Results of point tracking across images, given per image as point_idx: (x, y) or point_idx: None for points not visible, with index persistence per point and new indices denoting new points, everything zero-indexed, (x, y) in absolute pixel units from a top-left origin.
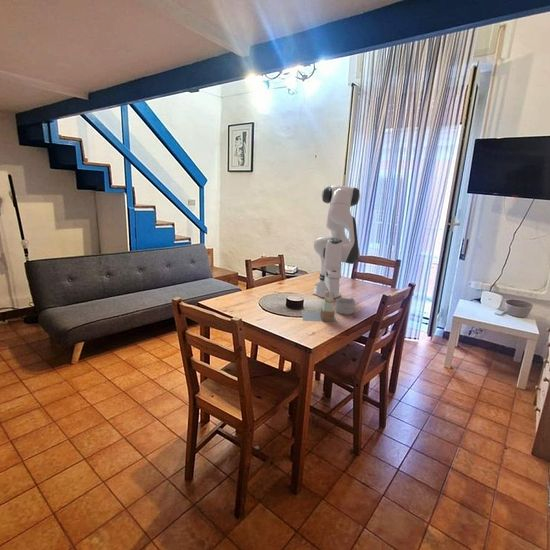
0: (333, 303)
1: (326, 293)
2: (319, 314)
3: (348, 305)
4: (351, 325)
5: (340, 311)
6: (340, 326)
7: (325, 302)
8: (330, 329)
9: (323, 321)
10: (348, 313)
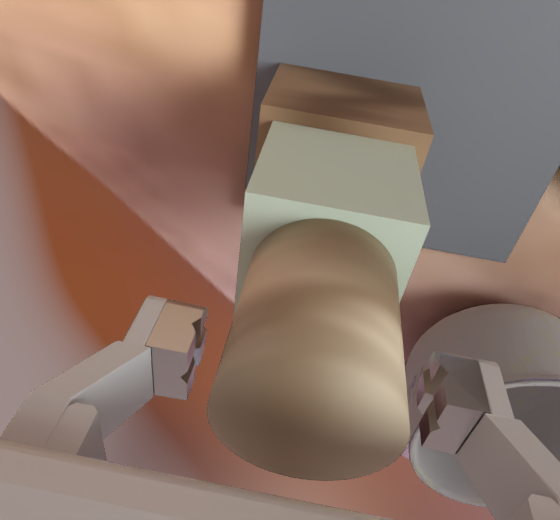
0: (235, 305)
1: (266, 342)
2: (489, 96)
3: (410, 426)
4: (228, 297)
5: (447, 326)
6: (197, 211)
7: (244, 205)
8: (109, 95)
9: (257, 75)
10: (406, 364)
